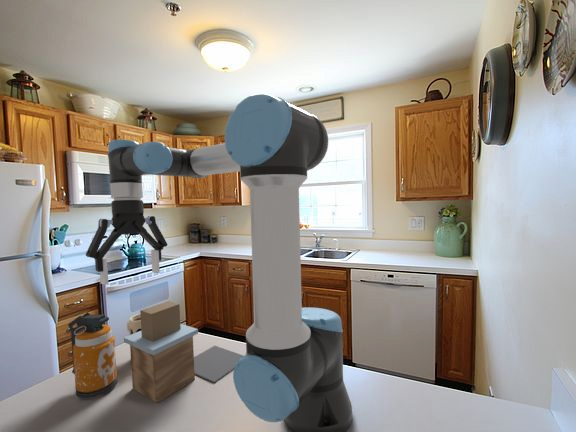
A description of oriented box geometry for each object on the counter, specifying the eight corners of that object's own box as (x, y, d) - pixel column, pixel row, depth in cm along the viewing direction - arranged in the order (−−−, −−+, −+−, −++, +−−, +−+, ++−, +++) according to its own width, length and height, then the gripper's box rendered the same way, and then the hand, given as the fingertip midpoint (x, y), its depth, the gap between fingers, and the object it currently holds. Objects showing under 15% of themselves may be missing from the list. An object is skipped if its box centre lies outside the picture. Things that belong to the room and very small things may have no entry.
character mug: (120, 361, 90) (118, 320, 89) (137, 350, 97) (135, 311, 96) (151, 365, 87) (149, 322, 87) (166, 353, 94) (164, 313, 94)
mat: (249, 358, 89) (249, 357, 89) (214, 383, 77) (214, 381, 77) (214, 346, 97) (214, 345, 97) (178, 367, 86) (178, 365, 86)
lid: (198, 337, 79) (196, 303, 79) (153, 360, 68) (151, 320, 68) (168, 327, 86) (167, 296, 86) (124, 346, 76) (122, 310, 75)
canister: (97, 403, 71) (92, 322, 70) (60, 398, 73) (54, 320, 72) (125, 381, 80) (120, 308, 79) (90, 377, 82) (86, 307, 81)
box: (194, 379, 80) (192, 334, 79) (157, 403, 70) (154, 352, 70) (169, 367, 86) (167, 325, 85) (132, 388, 76) (129, 341, 76)
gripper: (163, 199, 91) (166, 267, 92) (66, 200, 71) (72, 287, 72) (177, 198, 86) (180, 269, 87) (78, 199, 66) (84, 291, 67)
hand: (132, 277), depth 80 cm, fingers open, 13 cm apart
